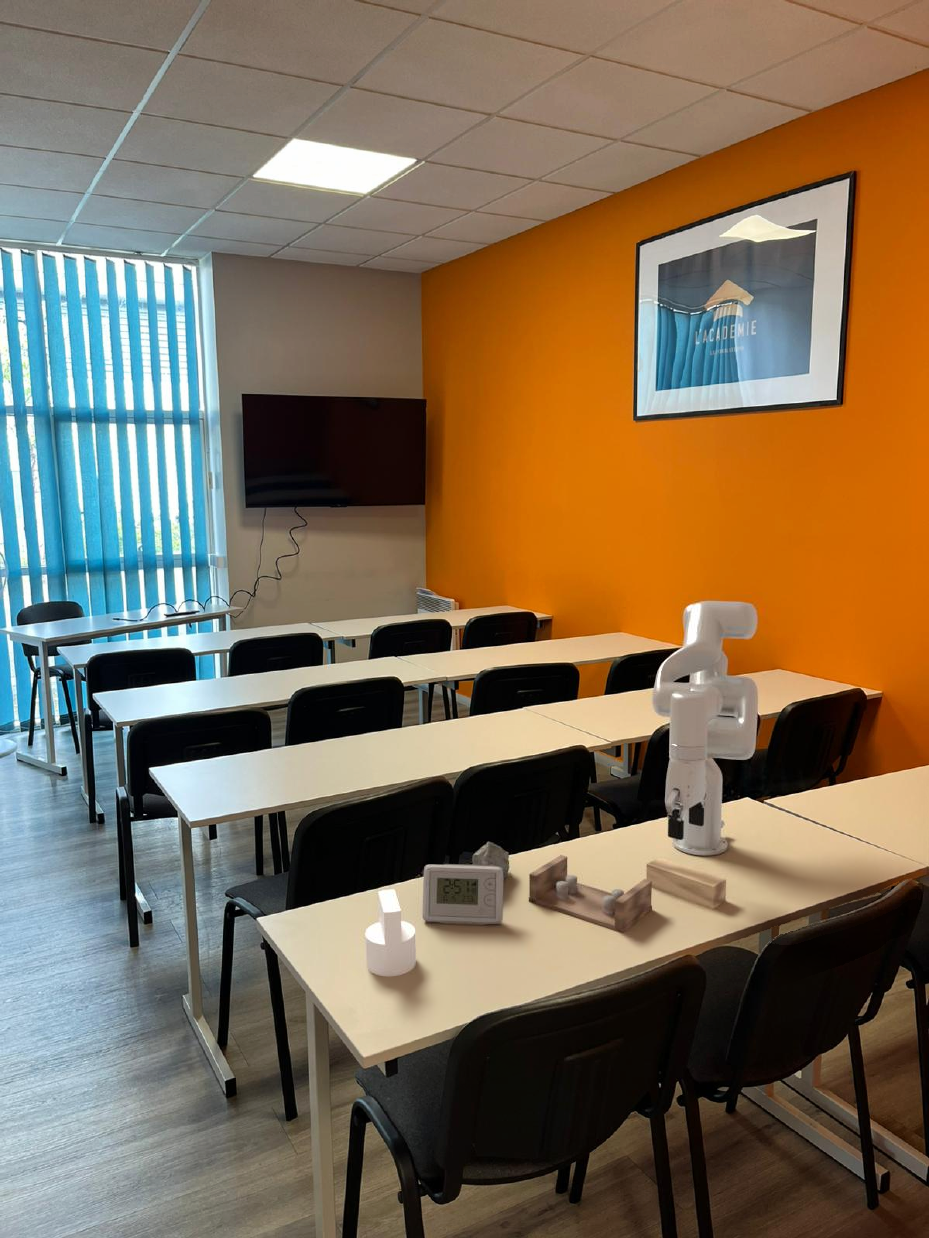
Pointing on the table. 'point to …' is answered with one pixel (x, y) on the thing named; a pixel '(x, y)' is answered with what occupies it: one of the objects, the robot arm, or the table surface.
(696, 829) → the robot arm
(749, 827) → the table surface
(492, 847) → the mineral rock
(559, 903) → the peg cradle
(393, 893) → the base with upright slab
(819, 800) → the table surface
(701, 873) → the board
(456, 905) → the digital clock
